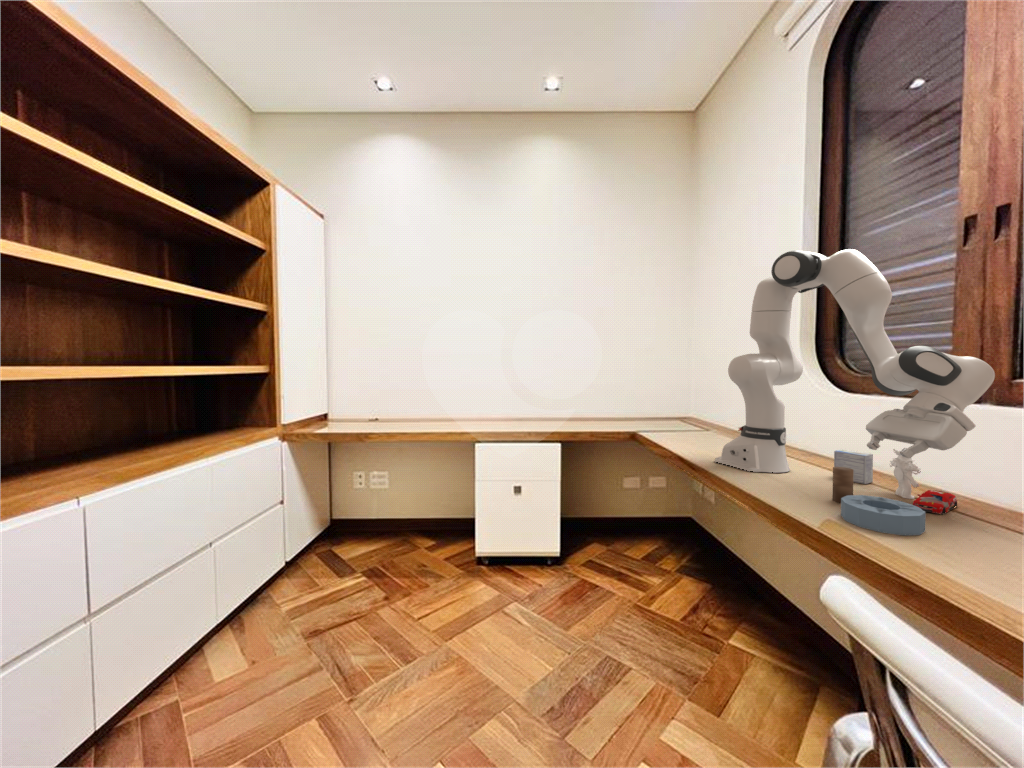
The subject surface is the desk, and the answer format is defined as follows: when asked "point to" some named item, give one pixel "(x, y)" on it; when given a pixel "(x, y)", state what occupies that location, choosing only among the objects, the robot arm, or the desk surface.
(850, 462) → the grey ridged block
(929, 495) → the race car
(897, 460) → the white figurine
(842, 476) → the dowel
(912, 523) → the bead
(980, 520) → the desk surface
